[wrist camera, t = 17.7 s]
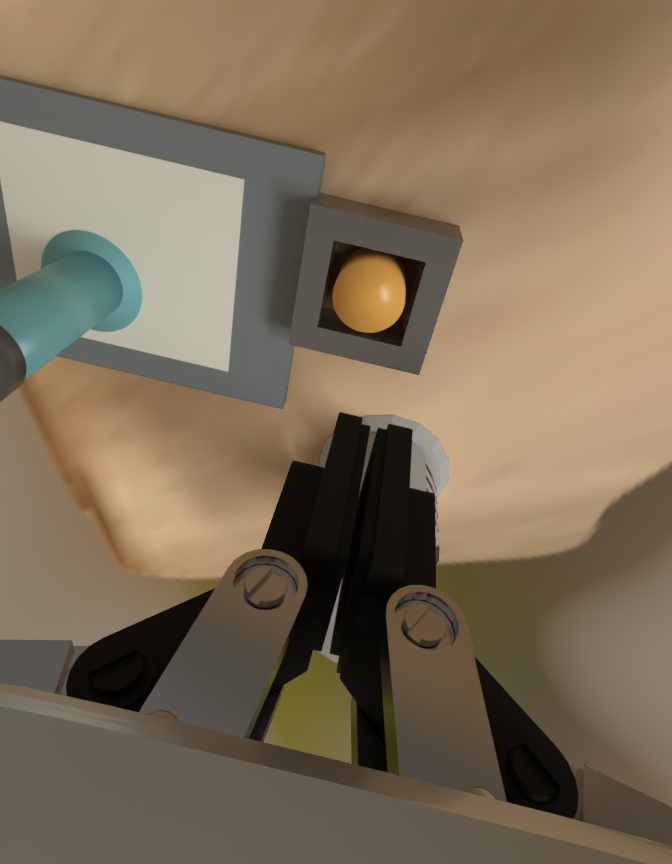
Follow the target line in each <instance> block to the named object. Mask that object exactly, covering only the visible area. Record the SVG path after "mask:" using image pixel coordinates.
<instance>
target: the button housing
mask: <svg viewBox="0 0 672 864" xmlns="http://www.w3.org/2000/svg"><path fill="white" fill-rule="evenodd" d="M337 242H343V243H347V244H351V245H355V246H359V247H364V248H368V249H372V250H376V251H380V252H385V253H389V254H393V255H397V256H402V257H406V258H410V259H414V260H418V261H421V264H420V267H419V270H418V274H417V277H416V281H415V284H414V288H413V291H412V295H411V298H410V302H409V305H408V308H407V312H406V315H405V319H404V322H403V326H398V325H394V324H393V325H391V326H390V327H388V328H387V329H384V330H382V331H379V332H374V333H364V332H359V331H356V330H354V329H352V328H350V327H348V326H347V325H346V324H344V323H343V322H342V321H341V319H340V318H339V317H338V315H337V313H336V311H335V310H330V309H326V308H325V305H326V299H327V294H328V289H329V284H330V279H331V273H332V268H333V263H334V258H335V252H336V247H337ZM462 242H463V238H462V234H461V231H460V227H459V226H456V225H452V224H448V223H443V222H439V221H435V220H431V219H427V218H422V217H418V216H414V215H410V214H406V213H401V212H397V211H393V210H389V209H385V208H380V207H376V206H372V205H368V204H364V203H359V202H355V201H351V200H347V199H343V198H338V197H334V196H330V195H326V194H322V193H319V194H318V195H317V197H316V198H315V199H314V200H313V201H312V203H311V204H310V210H309V216H308V223H307V229H306V236H305V242H304V248H303V255H302V261H301V268H300V274H299V281H298V287H297V293H296V300H295V306H294V313H293V319H292V326H291V332H290V338H289V344H290V345H294V346H298V347H303V348H307V349H311V350H315V351H320V352H324V353H328V354H332V355H337V356H341V357H345V358H349V359H353V360H358V361H362V362H366V363H370V364H375V365H379V366H383V367H387V368H392V369H396V370H400V371H404V372H408V373H413V374H417V375H419V373H420V370H421V367H422V364H423V361H424V358H425V355H426V352H427V349H428V346H429V343H430V340H431V337H432V334H433V330H434V327H435V324H436V321H437V318H438V315H439V312H440V309H441V306H442V303H443V300H444V297H445V294H446V291H447V288H448V285H449V282H450V279H451V276H452V273H453V270H454V267H455V263H456V260H457V257H458V254H459V251H460V248H461V245H462Z"/></svg>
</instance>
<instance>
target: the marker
mask: <svg viewBox="0 0 672 864" xmlns="http://www.w3.org/2000/svg"><path fill="white" fill-rule="evenodd" d="M122 297H123V288H122V283H121V280H120V278H119V276H118V274H117V272H116V271H115V269H114V268H113V267H112V266H111V265H110V264H109V263H108V262H107V261H106V260H105V259H103V258H102V257H100V256H98V255H96V254H94V253H91V252H87V251H77V252H73V253H71V254H69V255H67V256H65V257H63V258H61V259H59V260H57V261H55V262H53V263H51V264H49V265H47V266H46V267H44V268H42V269H40V270H38V271H36V272H34V273H32V274H30V275H28V276H26V277H24V278H22V279H20V280H18V281H16V282H14V283H12V284H10V285H8V286H6V287H4V288H3V289H1V290H0V402H1V401H2V400H3V399H4V398H6V397H7V396H8V395H9V394H11V393H12V392H13V391H15V390H16V389H17V388H18V387H20V386H21V385H22V383H23V382H24V380H25V379H26V378H28V377H29V376H30V375H32V374H33V373H34V372H35V371H37V370H38V369H39V368H41V367H42V366H43V365H45V364H46V363H47V362H48V361H50V360H51V359H52V358H54V357H55V356H56V355H57V354H59V353H60V352H61V351H63V350H64V349H65V348H66V347H68V346H69V345H70V344H72V343H73V342H74V341H76V340H77V339H78V338H79V337H81V336H82V335H83V334H85V333H86V332H87V331H88V330H90V329H91V328H92V327H94V326H95V325H96V324H98V323H99V322H100V321H101V320H103V319H104V318H105V317H107V316H108V315H109V314H110V313H112V312H113V311H114V310H116V309H117V308H118V306H119V305H120V303H121V301H122Z"/></svg>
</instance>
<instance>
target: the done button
mask: <svg viewBox="0 0 672 864" xmlns="http://www.w3.org/2000/svg"><path fill="white" fill-rule="evenodd" d="M405 295H406V273H405V270H404V267H403V265H402V263H401V261H400V260H399V259H398V258H397V256H395V255H393V254H389V253H385V252H380V251H376V250H372V249H368V248H361V249H359V250H357V251H355V252H353V253H352V254H351V255H350V256H349V257H348V258H347V259H346V260H345V261H344V263H343V265H342V267H341V270H340V272H339V275H338V277H337V280H336V282H335V285H334V288H333V294H332V300H333V306H334V309H335V311H336V313H337V315H338V317H339V318H340V319H341V321H342V322H343V323H344V324H346V325H347V326H348V327H350V328H352V329H354V330H356V331H359V332H364V333H374V332H379V331H382V330H384V329H387V328H388V327H390V326H391V325H393V324H394V323H395V322H396V321H397V320H398V318H399V317H400V315H401V313H402V311H403V309H404V305H405Z"/></svg>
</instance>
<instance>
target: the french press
mask: <svg viewBox="0 0 672 864" xmlns="http://www.w3.org/2000/svg"><path fill="white" fill-rule="evenodd" d="M362 418H363V419H362V424H364V425H369V426H371V427H370V433H369V439H368V445H367V451H366V457H365V462H364V468H363V474H362V480H361V486H360V490H361V487H362V483H363V479H364V476H365V472H366V468H367V465H368V461H369V457H370V454H371V450H372V447H373V443H374V439H375V436H376V432H377V429H378V428H382V429H387V426H388V424H393V425H397V426H402V427H406V428H410V429H412V430H413V434H412V454H411V473H410V488H414V489H418V490H422V491H426V492H431V493H434V495H435V541H436V540H437V543H438V546H437V547H436V564H437V563H438V561H439V534H438V532H439V526H438V507H437V498H438V497H439V495H440V493H441V492H442V490H443V488H444V486H445V484H446V483H447V481H448V475H449V458H448V456H447V454H446V452H445V450H444V448H443V446H442V445H441V443H440V441H439V439H438V438H437V437H436V436H434V435H433V434H432V433H431V432H429V431H428V430H427V429H426V428H424V427H423V426H422V425H420V424H419V423H417V422H414V421H410V420H407V419H404V418H401V417H398V416H395V415H370V416H363V417H362ZM333 434H334V433H333ZM333 434H332V435H331V436H330V437H329V438H328V439H327V440H326V441H325V444H324V447H323V450H322V453H321V456H320V459H319V463H320V467H323V468H325V464H326V461H327V457H328V453H329V449H330V446H331V442H332V438H333ZM359 494H360V492H359ZM436 512H437V516H436ZM436 526H437V527H438V530H437V528H436ZM341 583H342V581H341ZM340 589H341V585H340V588H339V592H338V595H337V599H336V602H335V606H334V609H333V613H332V616H331V620H330V623H329V627H328V630H327V634H326V637H325V641H324V644H323V648H322V651H321V652H320V651H318V652H319V653H321V654H323V655H324V656H325V657H327V658H328V659H330V660H332V661H333V662H336V663H338V660H339V656H337V655H333V654H330V647H331V641H332V635H333V630H334V624H335V618H336V612H337V606H338V601H339V595H340Z"/></svg>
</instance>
